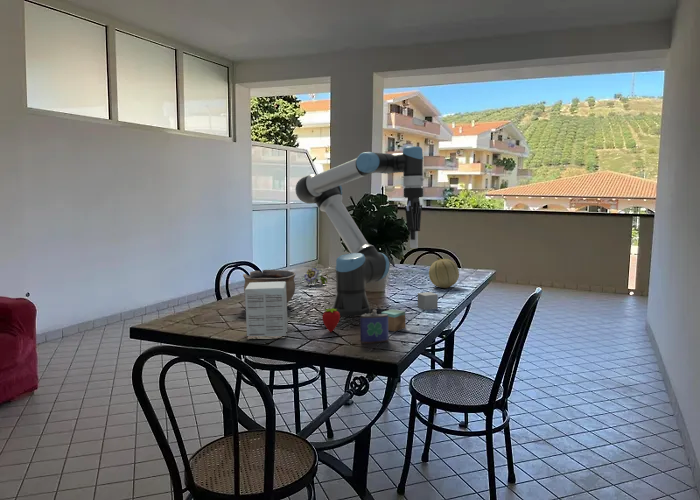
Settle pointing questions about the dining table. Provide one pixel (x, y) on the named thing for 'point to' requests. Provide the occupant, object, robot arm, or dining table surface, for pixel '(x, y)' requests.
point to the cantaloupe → (443, 273)
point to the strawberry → (331, 318)
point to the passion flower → (314, 276)
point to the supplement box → (266, 309)
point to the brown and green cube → (395, 319)
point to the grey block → (427, 300)
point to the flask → (374, 328)
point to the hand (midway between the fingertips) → (414, 247)
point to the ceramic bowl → (273, 279)
